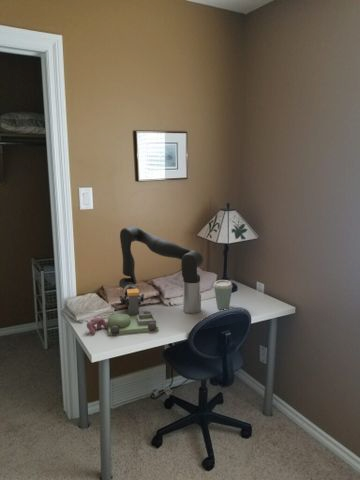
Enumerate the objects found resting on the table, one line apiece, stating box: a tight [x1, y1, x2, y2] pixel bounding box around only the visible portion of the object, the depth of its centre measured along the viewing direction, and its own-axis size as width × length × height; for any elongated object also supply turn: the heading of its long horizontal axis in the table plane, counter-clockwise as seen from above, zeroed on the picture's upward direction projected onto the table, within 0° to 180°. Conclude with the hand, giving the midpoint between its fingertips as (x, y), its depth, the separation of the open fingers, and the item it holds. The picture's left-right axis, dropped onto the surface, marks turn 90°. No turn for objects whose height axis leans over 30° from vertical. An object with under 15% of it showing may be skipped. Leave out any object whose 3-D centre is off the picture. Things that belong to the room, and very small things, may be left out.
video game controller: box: [86, 317, 108, 335], centre depth 192 cm, size 10×5×7 cm, turn 141°
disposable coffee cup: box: [213, 279, 233, 311], centre depth 218 cm, size 11×11×15 cm
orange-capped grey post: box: [127, 288, 140, 316], centre depth 208 cm, size 6×6×14 cm
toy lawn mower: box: [107, 310, 159, 336], centre depth 196 cm, size 24×16×5 cm
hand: (133, 303), depth 205 cm, fingers closed on orange-capped grey post, 5 cm apart
